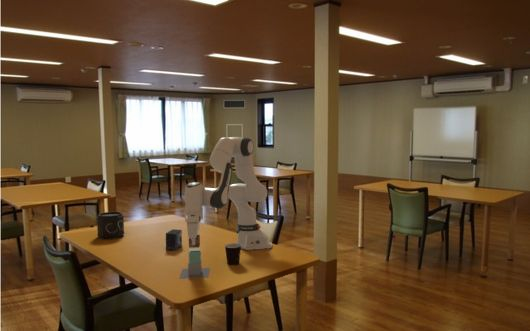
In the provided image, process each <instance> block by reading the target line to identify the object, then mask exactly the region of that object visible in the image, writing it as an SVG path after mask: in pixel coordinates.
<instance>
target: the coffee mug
mask: <svg viewBox="0 0 530 331" xmlns="http://www.w3.org/2000/svg"><path fill="white" fill-rule="evenodd" d="M224 247H225V256H226V264H227V265H230V266H239V265H240V257H241V250H242V248H241V245H240V244H237V242H235V243H233V242H232V243H231V242H230V243H226V244H225V245H224Z"/></svg>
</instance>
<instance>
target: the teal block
mask: <svg viewBox="0 0 530 331" xmlns="http://www.w3.org/2000/svg"><path fill="white" fill-rule="evenodd" d="M201 254H202V251H201V248H189V249H188V262H189V263H201V264H202V255H201Z"/></svg>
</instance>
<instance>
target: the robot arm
mask: <svg viewBox="0 0 530 331" xmlns="http://www.w3.org/2000/svg"><path fill="white" fill-rule="evenodd" d="M254 147H255V146H254V141H253V140H252V139H251V138H249V137H243V136H242V137H241V136H231V137H227V136H225V137H220V138H219V140H217V142H216V144H215V146H214V147H213V150H212V151H211V154H210V157H209V164H210V166H211V167H212V169H214V170H215V171H216V172H218V173H220V174H221V175H220V180H219V185H218V186H217V187H215V188H214V187H205V186H203V185H202V183H201V182H198V181H197V182H196V181H193V182H189V183H187V184H186V185H185V188H184V203H185V205H184V219H185V223H186V229H187V236H188V240H189V239H191V240H192V245H195V244H196V237H197V235H199V231H200V223H201V220H203V219H204V209H203V208H204V207H207V208H214V209H218V210H219V209H220V210H221V209H222V208H224V207H225V206H226V205H227V203H228V201H229V200H230V201H232V202H233V204H234V205H235V207H236V211H237V216H238V217H237V220H238V221H237V222H238V223H237V239H236V240H237V241H236V243H237V244H240V245H241V250H242V249H243V250H246V251H251V250H252V251H253V250H254V249H255V250H263V249H264V250H266V249H271V248H272V247H273V243H272V242H271V240H269V236H268V234H266V232H264V231H263V230H261V225H260V224H259V223H258V222H257V211H256V210H255V209H254V208H253V207H252V206H251V205H250V204H249V203H258V202H264V201H265V200H266V199H267V197H268V189H267V187H266V186H265V185H264V184H262V183H261V181H259V179H258V178H257V176H256V173H255V167H254V157H253V154H252V153H253V152H254ZM233 157H234V168H233V165H232V163H231V161H232V158H233ZM233 169H235V175H236V177H237V179H239V180H241V181H242V182H243V183H241V182H239V183H238V182H237V183H232V184H231V181H232V176H233ZM248 202H249V203H248ZM265 248H266V249H265Z"/></svg>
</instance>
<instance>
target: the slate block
mask: <svg viewBox="0 0 530 331" xmlns="http://www.w3.org/2000/svg"><path fill="white" fill-rule="evenodd" d="M202 268H203V267H202V262H201V263H189V261H188V262H187V269H188V275H201V271H202Z"/></svg>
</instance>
